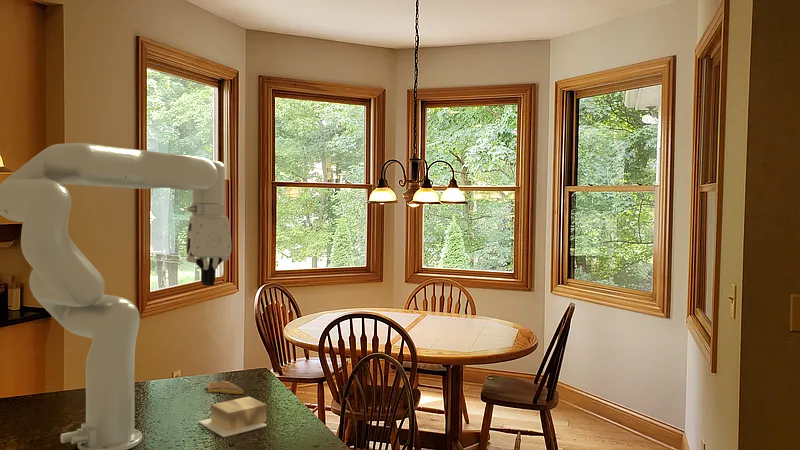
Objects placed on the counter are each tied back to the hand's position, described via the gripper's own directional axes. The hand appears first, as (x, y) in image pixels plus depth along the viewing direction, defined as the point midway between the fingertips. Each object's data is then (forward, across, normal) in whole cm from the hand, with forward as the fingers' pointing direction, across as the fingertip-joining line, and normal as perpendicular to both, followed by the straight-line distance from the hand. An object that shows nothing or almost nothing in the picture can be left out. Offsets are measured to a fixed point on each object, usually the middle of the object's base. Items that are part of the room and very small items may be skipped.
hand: (208, 285), depth 162 cm
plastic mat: (+31, 0, -14) cm, 34 cm away
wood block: (+29, +6, -14) cm, 32 cm away
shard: (+32, +12, +12) cm, 36 cm away
